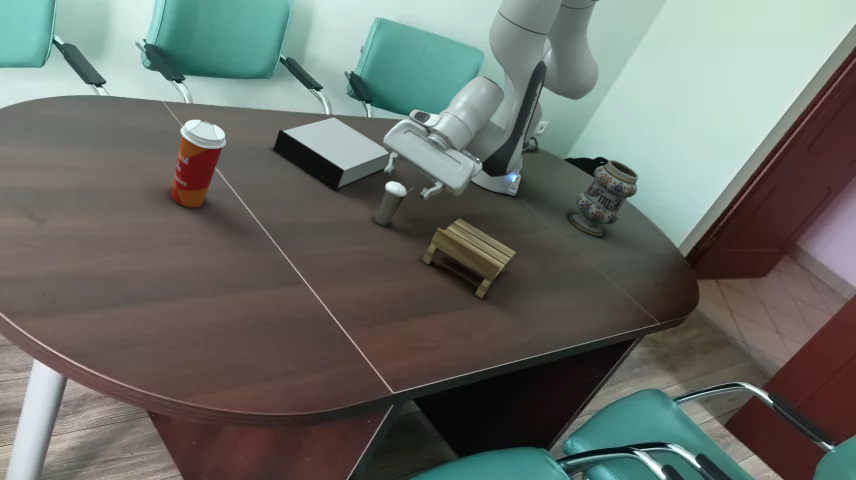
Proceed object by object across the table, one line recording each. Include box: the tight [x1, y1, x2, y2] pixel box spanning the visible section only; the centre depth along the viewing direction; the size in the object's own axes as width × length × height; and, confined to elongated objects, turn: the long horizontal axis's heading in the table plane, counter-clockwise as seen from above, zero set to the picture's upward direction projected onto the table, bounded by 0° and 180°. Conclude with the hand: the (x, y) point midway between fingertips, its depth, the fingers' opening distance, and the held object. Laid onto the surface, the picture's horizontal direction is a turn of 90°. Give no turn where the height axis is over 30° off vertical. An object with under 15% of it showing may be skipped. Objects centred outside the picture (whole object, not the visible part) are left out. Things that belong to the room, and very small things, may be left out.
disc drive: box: [272, 117, 390, 191], centre depth 154 cm, size 18×22×5 cm
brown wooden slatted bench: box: [421, 217, 516, 299], centre depth 137 cm, size 17×14×8 cm
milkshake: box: [373, 180, 415, 227], centre depth 138 cm, size 4×5×10 cm
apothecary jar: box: [569, 159, 639, 237], centre depth 176 cm, size 12×12×18 cm
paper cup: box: [171, 119, 227, 208], centre depth 117 cm, size 8×8×14 cm
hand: (404, 185), depth 138 cm, fingers open, 8 cm apart
